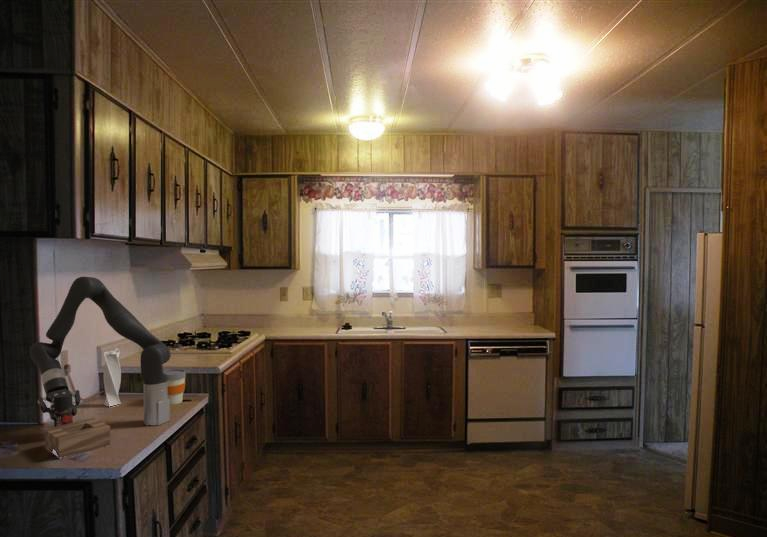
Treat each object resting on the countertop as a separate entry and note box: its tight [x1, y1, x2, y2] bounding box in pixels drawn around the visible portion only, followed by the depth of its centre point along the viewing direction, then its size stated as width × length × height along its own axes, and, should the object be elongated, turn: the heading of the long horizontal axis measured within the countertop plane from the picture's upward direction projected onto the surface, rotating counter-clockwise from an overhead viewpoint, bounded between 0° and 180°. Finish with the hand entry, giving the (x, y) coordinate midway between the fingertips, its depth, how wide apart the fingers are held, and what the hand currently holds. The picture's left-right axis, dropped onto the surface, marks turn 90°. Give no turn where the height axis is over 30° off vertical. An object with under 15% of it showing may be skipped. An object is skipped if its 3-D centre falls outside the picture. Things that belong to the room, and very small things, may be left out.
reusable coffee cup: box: [163, 369, 187, 406], centre depth 219 cm, size 13×13×15 cm
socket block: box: [44, 417, 111, 458], centre depth 164 cm, size 16×16×7 cm
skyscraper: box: [102, 347, 122, 408], centre depth 216 cm, size 8×8×28 cm
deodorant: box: [53, 393, 74, 427], centre depth 174 cm, size 6×6×15 cm
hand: (65, 416), depth 173 cm, fingers closed on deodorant, 6 cm apart
